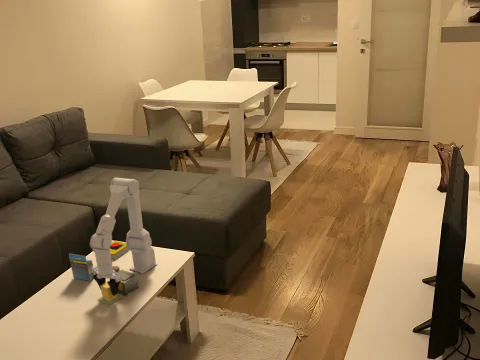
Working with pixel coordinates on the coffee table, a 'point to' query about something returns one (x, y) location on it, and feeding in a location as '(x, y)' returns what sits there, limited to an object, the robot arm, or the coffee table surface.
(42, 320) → the coffee table surface
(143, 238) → the robot arm
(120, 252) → the emergency button
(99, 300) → the pad
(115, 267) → the walnut cylinder
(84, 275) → the label tape box
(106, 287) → the ochre block
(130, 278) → the box
